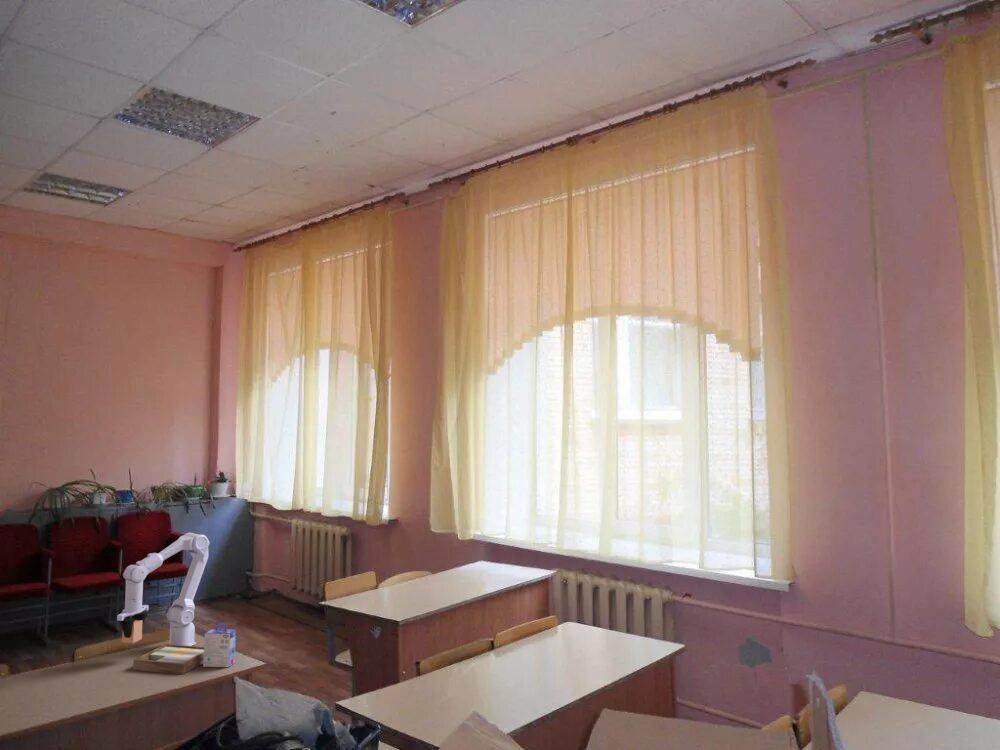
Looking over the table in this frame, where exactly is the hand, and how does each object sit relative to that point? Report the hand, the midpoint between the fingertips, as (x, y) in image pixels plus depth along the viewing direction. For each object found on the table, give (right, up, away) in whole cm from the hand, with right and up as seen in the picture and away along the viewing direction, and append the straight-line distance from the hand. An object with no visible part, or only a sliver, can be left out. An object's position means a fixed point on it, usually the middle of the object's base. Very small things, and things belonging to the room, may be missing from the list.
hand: (132, 635), depth 260 cm
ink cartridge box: (+34, -10, -4) cm, 35 cm away
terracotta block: (0, -2, 0) cm, 2 cm away
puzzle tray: (+17, -9, -3) cm, 19 cm away
